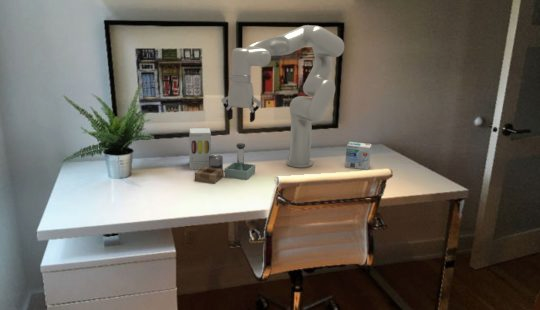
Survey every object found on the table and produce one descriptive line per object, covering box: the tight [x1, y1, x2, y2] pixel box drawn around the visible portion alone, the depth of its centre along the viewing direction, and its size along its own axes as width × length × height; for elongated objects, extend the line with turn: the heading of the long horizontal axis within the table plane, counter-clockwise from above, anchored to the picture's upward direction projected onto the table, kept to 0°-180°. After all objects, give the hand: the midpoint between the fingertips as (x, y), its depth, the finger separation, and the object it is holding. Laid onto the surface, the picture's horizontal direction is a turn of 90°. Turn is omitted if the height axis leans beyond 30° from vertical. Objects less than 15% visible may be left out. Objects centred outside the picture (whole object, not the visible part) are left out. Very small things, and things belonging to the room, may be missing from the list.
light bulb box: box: [344, 141, 372, 171], centre depth 219 cm, size 11×7×11 cm, turn 71°
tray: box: [224, 161, 256, 181], centre depth 204 cm, size 10×10×4 cm
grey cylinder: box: [209, 154, 224, 170], centre depth 206 cm, size 6×6×8 cm
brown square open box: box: [194, 167, 224, 185], centre depth 198 cm, size 9×9×4 cm
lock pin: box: [236, 142, 246, 171], centre depth 203 cm, size 4×4×13 cm
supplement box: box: [188, 127, 212, 170], centre depth 212 cm, size 10×9×17 cm
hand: (241, 120), depth 198 cm, fingers open, 9 cm apart
